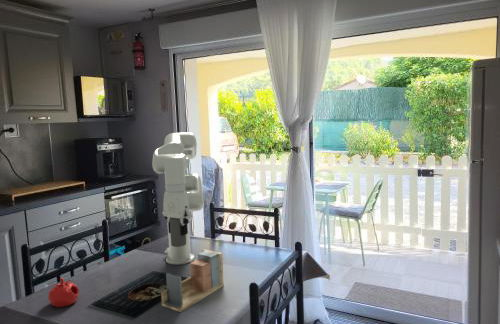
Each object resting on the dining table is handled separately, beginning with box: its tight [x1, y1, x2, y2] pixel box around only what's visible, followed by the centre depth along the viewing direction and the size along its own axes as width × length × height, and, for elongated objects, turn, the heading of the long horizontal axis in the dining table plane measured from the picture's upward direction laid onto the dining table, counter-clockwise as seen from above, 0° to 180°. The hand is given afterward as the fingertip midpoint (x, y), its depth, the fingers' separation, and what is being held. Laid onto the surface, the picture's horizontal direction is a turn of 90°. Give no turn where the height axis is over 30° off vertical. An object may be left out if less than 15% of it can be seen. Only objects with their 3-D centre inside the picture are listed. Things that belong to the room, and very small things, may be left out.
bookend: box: [164, 272, 183, 308], centre depth 129 cm, size 6×2×10 cm, turn 56°
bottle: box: [170, 218, 186, 247], centre depth 148 cm, size 6×6×15 cm
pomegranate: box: [47, 277, 80, 308], centre depth 135 cm, size 10×10×9 cm
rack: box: [160, 248, 225, 313], centre depth 137 cm, size 9×23×13 cm, turn 146°
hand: (178, 233), depth 149 cm, fingers closed on bottle, 5 cm apart
